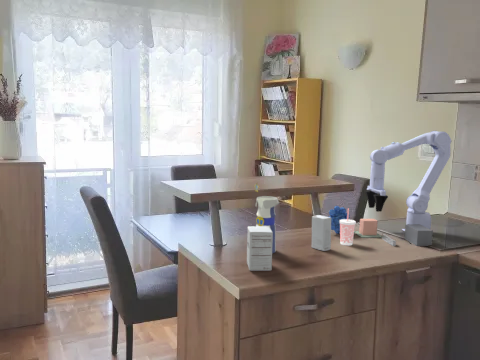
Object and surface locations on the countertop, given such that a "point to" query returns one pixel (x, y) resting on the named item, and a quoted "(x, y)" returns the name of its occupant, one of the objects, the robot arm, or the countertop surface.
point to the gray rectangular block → (418, 234)
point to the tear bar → (388, 240)
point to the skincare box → (321, 232)
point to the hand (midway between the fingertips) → (375, 209)
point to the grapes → (337, 217)
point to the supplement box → (259, 248)
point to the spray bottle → (267, 214)
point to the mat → (367, 235)
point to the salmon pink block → (368, 227)
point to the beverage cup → (347, 230)
